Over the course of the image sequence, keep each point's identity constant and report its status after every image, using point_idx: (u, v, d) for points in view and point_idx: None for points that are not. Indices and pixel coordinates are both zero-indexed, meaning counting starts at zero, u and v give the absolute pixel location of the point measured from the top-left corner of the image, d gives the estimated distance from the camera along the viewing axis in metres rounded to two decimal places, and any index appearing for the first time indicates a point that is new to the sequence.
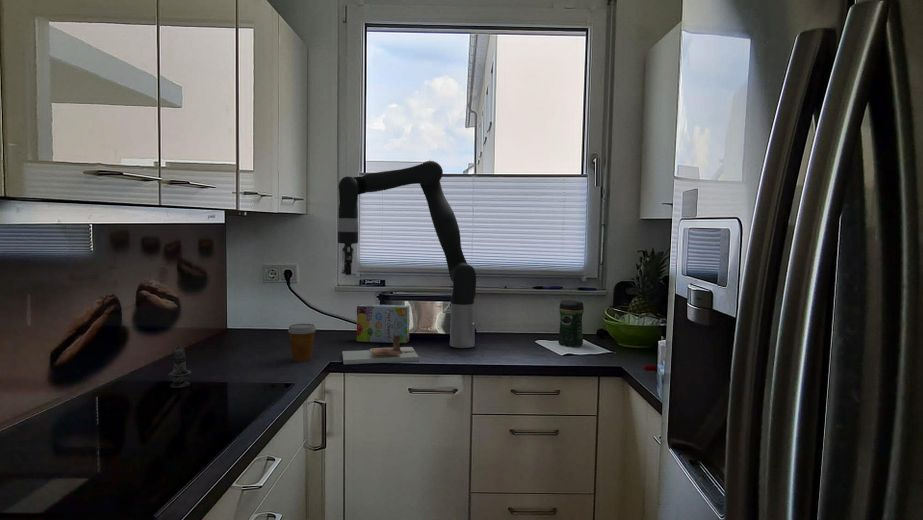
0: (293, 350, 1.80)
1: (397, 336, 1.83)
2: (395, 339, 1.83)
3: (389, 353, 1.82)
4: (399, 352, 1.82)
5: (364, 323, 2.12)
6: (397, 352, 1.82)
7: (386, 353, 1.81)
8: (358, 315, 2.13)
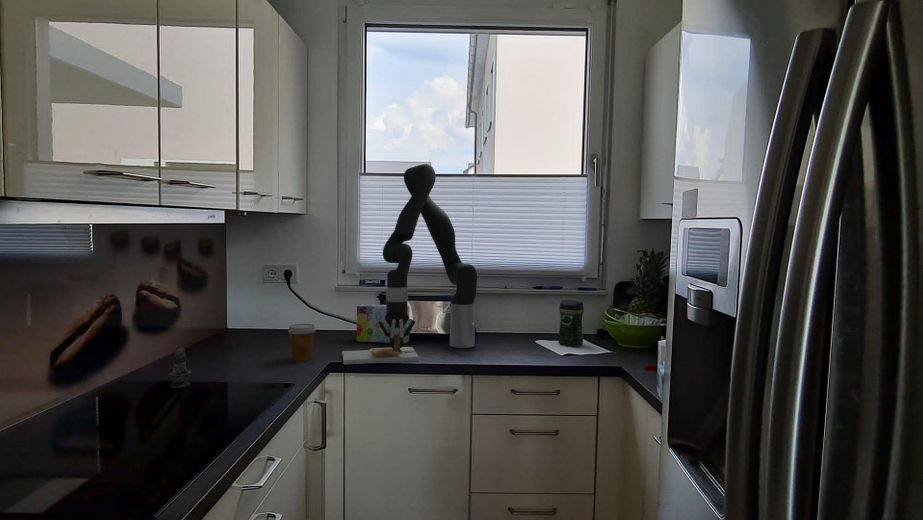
0: (293, 350, 1.80)
1: (397, 336, 1.83)
2: (395, 339, 1.83)
3: (389, 353, 1.82)
4: (399, 352, 1.82)
5: (364, 323, 2.12)
6: (397, 352, 1.82)
7: (386, 353, 1.81)
8: (358, 315, 2.13)
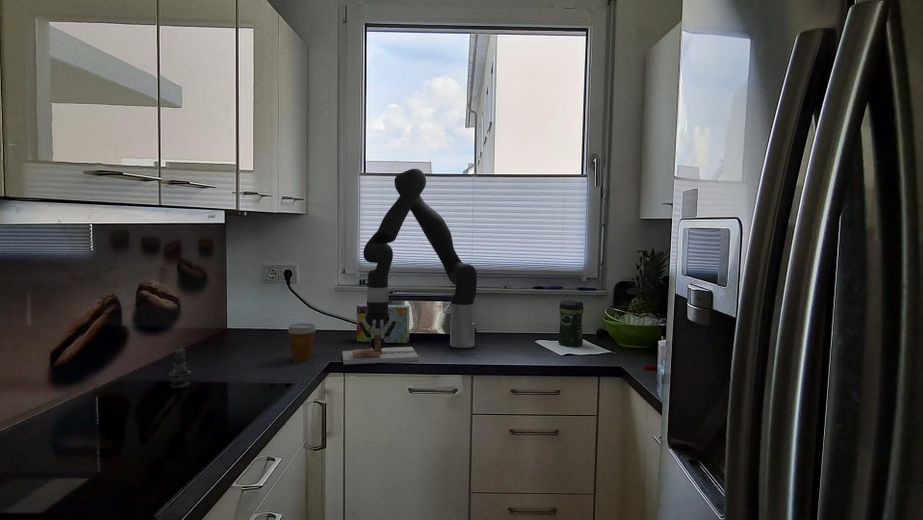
0: (293, 350, 1.80)
1: (378, 337, 1.81)
2: (376, 340, 1.81)
3: (369, 354, 1.80)
4: (380, 353, 1.81)
5: None
6: (378, 353, 1.81)
7: (366, 354, 1.80)
8: (358, 315, 2.13)
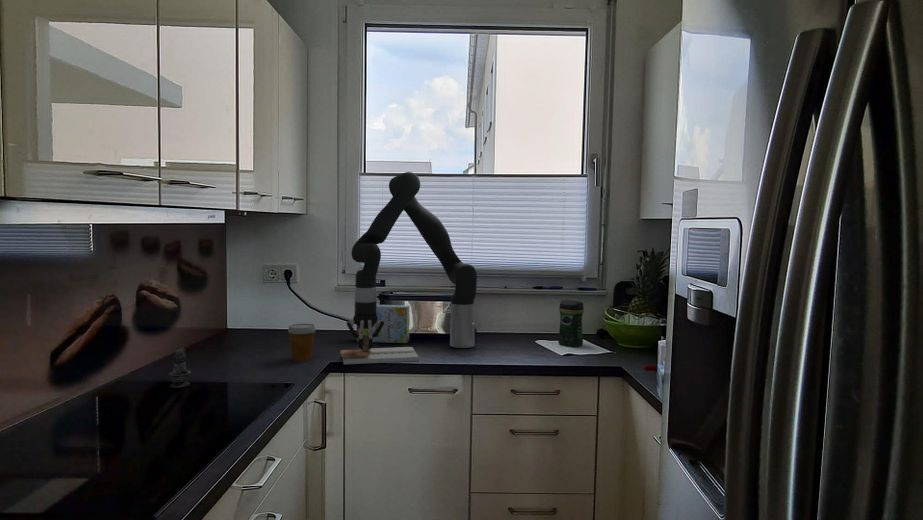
0: (293, 350, 1.80)
1: (366, 337, 1.80)
2: (364, 340, 1.80)
3: (357, 354, 1.79)
4: (368, 353, 1.80)
5: None
6: (365, 353, 1.80)
7: (354, 354, 1.79)
8: None
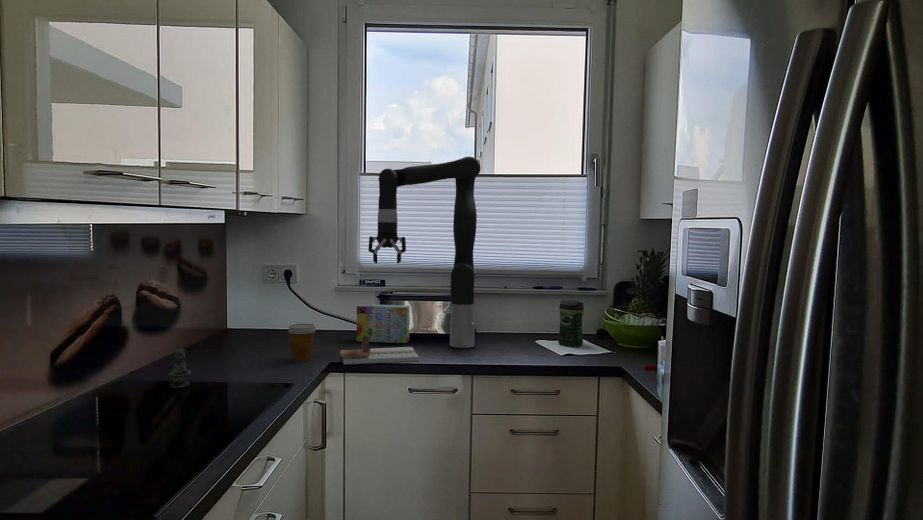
0: (293, 350, 1.80)
1: (366, 337, 1.80)
2: (363, 340, 1.80)
3: (357, 354, 1.79)
4: (368, 353, 1.80)
5: (364, 323, 2.12)
6: (365, 353, 1.80)
7: (354, 354, 1.79)
8: (358, 315, 2.13)
